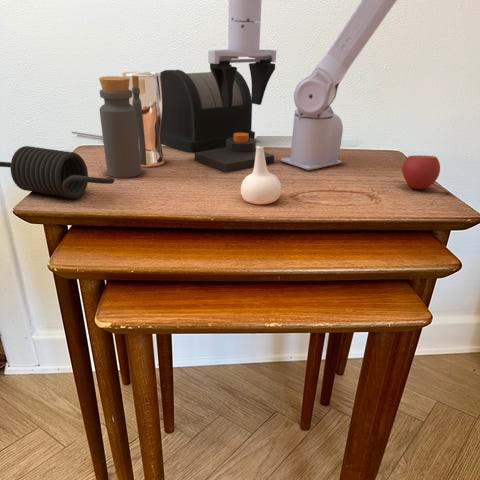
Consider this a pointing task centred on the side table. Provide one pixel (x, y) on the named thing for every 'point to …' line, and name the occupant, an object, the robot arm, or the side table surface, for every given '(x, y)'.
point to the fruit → (421, 171)
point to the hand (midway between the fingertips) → (242, 105)
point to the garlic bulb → (260, 182)
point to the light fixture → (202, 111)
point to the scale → (232, 156)
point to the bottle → (119, 128)
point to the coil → (51, 172)
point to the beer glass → (148, 114)
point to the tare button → (241, 137)
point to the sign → (87, 134)
